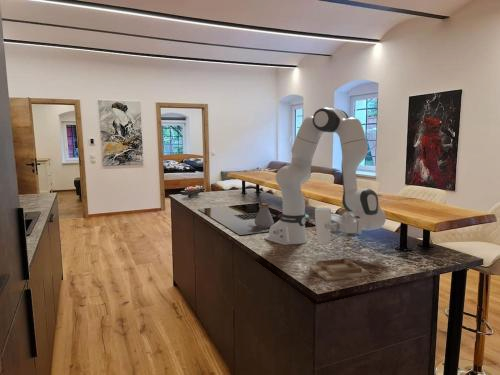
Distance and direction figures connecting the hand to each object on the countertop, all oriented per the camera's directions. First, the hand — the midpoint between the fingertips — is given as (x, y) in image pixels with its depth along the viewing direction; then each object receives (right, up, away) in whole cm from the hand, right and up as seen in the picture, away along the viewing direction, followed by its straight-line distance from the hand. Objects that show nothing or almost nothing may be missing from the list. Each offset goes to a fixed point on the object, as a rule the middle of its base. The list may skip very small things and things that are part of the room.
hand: (321, 224), depth 153 cm
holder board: (+5, -18, -10) cm, 21 cm away
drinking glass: (+1, -9, +1) cm, 9 cm away
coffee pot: (-22, -7, +67) cm, 71 cm away
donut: (+1, -6, +76) cm, 76 cm away
